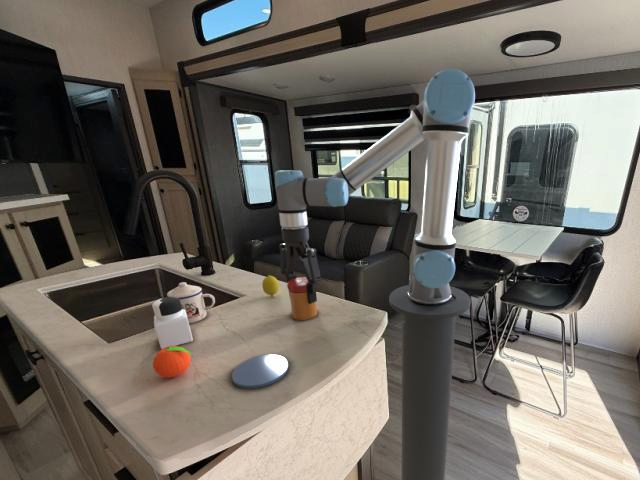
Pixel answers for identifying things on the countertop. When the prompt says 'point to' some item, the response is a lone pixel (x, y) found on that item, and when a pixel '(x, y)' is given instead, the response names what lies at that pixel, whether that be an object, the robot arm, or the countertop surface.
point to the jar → (302, 306)
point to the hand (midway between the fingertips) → (303, 299)
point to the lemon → (270, 285)
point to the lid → (297, 284)
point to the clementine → (171, 361)
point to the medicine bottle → (171, 322)
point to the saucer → (260, 371)
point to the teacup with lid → (191, 301)
